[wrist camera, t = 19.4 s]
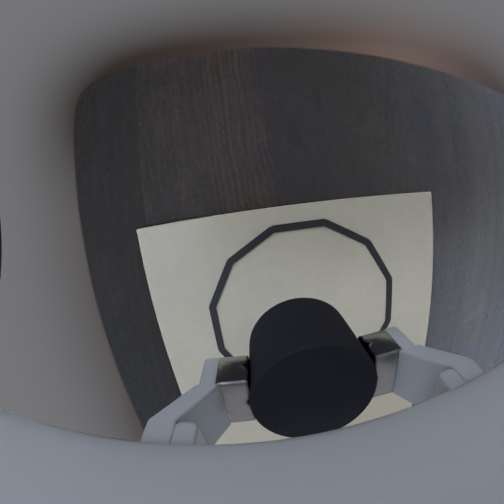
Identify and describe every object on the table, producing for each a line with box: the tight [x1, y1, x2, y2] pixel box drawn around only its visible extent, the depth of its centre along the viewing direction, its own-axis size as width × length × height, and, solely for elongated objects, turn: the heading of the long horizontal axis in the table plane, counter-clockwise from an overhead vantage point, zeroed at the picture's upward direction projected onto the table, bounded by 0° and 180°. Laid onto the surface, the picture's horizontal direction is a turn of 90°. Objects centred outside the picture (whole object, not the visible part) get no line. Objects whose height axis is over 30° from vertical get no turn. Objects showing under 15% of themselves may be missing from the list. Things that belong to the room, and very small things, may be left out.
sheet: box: [137, 192, 433, 445], centre depth 21 cm, size 22×30×1 cm
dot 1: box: [249, 298, 377, 438], centre depth 9 cm, size 4×4×4 cm
